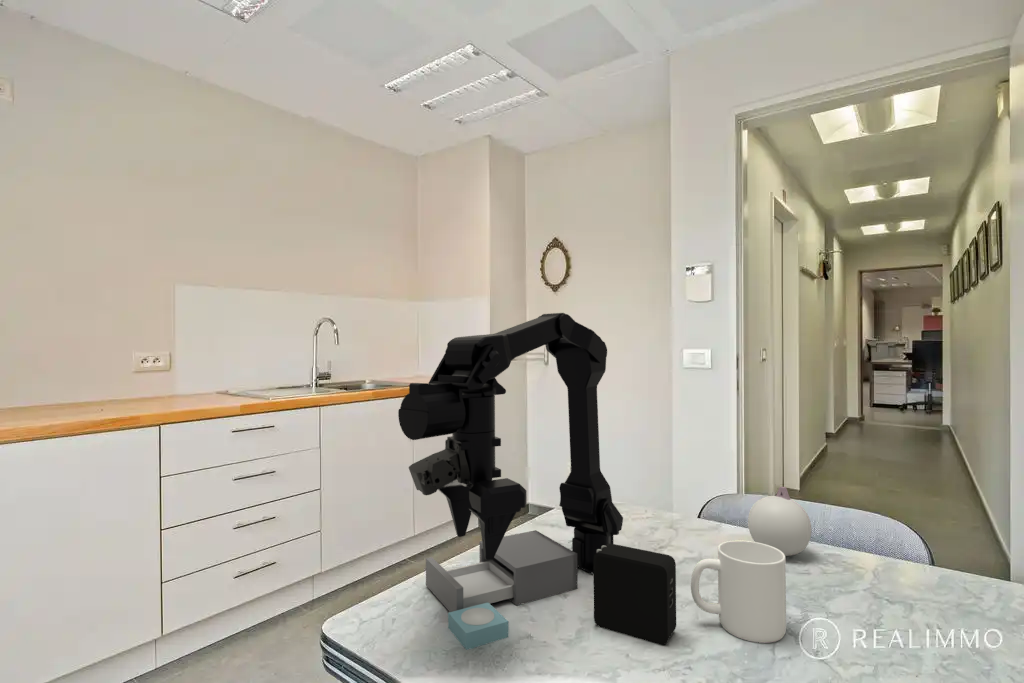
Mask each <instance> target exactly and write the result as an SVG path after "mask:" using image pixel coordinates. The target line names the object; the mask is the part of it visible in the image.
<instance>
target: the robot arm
mask: <svg viewBox="0 0 1024 683" xmlns="http://www.w3.org/2000/svg"><path fill="white" fill-rule="evenodd" d="M543 346H545V350H546V351H547V352H548V353H549V354H550V355H551V356H552V357H553V358H555V362H556V363H555V364H556V367H557V374H559V376H560V378H561V380H562V381H563V382H564V384H565V386H566V388H567V405H568V407H567V408H568V427H569V428H568V429H569V430H568V432H569V456H570V473H569V474H568V476H567V477H566V479H565V481H564V482H561V483H560V484H559V487H558V488H559V493H560V494H559V495H560V498H559V500H560V501H559V507H561V511H562V514H563V516H564V521H565V525H566V527H571V528H573V537H572V540H571V549H572V550H571V551H573V552H575V553H577V568H578V567H579V568H580V569H581V570H583V571H584V572H585V571H586V572H587V573H589V574H594V570H593V558H594V555H595V554H596V553H597V550H598V549H600V550H601V546H602V545H604V546H606V545H607V544H610V543H611V544H614V536H618V535H620V531H622V528H623V522H624V517H623V515H622V514H621V512H620V511H619V510H618V508H617V506H616V505H615V504H614V502H613V499H612V498H613V497H612V490H611V486H610V484H609V482H608V481H607V480H606V477H605V476H604V474H603V473H602V471H601V460H600V456H601V455H600V434H599V433H600V432H599V408H598V407H599V406H598V404H599V403H598V385H599V383H600V382H601V380H602V378H603V376H604V374H605V372H606V371H607V370H606V369H607V358H608V357H607V356H608V347H607V344H606V342H605V341H604V340H603V339H602V338H601V337H600V336H599V335H598V334H597V333H596V332H595V331H594V330H592V329H591V328H589V327H587V326H584V325H583V324H581V323H579V322H577V321H575V319H573V317H571V316H570V315H569V314H567V313H564V312H553V313H551V312H550V313H543V314H541V315H539V316H538V317H536V318H533V319H531V320H530V319H529V320H527V321H525V322H521V323H520V324H516V325H514V326H511V327H507V328H506V329H503V330H501V331H497V332H495V333H489V334H478V335H477V334H476V335H475V334H474V335H468V336H466V335H465V336H458V337H454V338H452V339H450V340H449V341H448V342H447V347H446V348H445V351H444V352H445V353H444V355H443V356H442V358H441V359H440V362H439V363H438V366H437V367H436V369H435V370H434V372H433V375H432V376H431V378H430V380H429V382H427V383H425V382H412V383H409V385H408V387H409V388H408V393H407V394H406V395H405V396H404V397H403V399H402V400H401V404H400V408H398V412H397V413H398V415H397V416H398V417H397V418H398V424H399V426H400V429H401V431H402V432H403V434H404V436H405V437H406V438H407V439H409V440H412V441H417V440H422V439H430V438H435V437H440V436H447V439H445V442H444V443H445V446H444V449H442V450H440V451H437V452H434V453H433V454H432V453H431V454H430V455H428V456H425V457H424V458H421V459H420V460H418V461H416V462H414V463H411V465H409V466H408V469H409V472H410V475H411V478H412V481H413V483H414V487H415V489H416V490H417V491H420V492H421V493H422V495H424V496H430V495H432V494H435V493H436V492H437V491H439V492H440V493H441V494H442V495H443V496H444V497H445V498H446V501H447V504H448V508H449V511H450V514H451V519H452V522H453V526H454V530H455V533H456V536H457V537H458V538H461V537H465V536H466V534H467V531H468V528H469V524H470V519H471V516H472V514H473V515H474V516H475V517H476V518H477V519H478V520H479V524H480V525H479V526H480V533H481V541H482V544H483V550H484V556H485V559H486V560H489V559H493V558H494V556H495V554H496V552H497V550H498V548H499V546H500V543H501V541H502V539H503V537H505V535H506V533H507V530H508V529H509V527H510V525H511V523H512V521H513V519H514V518H515V516H516V514H517V513H520V512H521V511H522V510H521V509H525V508H526V507H527V490H526V488H524V486H522V485H521V484H520V483H518V482H516V481H515V480H512V479H510V478H507V477H506V478H501V477H502V469H501V468H499V467H498V466H497V467H496V447H501V446H502V438H501V437H498V436H496V396H497V395H498V396H499V395H505V394H506V393H507V390H506V388H505V387H504V386H503V385H502V384H501V383H499V382H498V380H497V379H496V378H497V377H498V376H499V375H501V374H502V373H503V372H504V371H506V370H507V369H509V367H510V365H511V363H512V361H513V360H514V359H516V358H518V357H520V356H522V355H525V354H527V353H530V352H532V351H534V350H537V349H539V348H540V347H543ZM448 435H452V436H448ZM498 478H500V479H498Z"/></svg>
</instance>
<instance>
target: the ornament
mask: <svg viewBox="0 0 1024 683" xmlns="http://www.w3.org/2000/svg"><path fill="white" fill-rule="evenodd" d="M747 525H748V530H749V534H750V536H751V538H752V540H753V542H758V543H762V544H766V545H769V546H772V547H774V548H777V549H778V550H780V551H782V552H783V553H784V555H785V557H791V556H796V555H798V554H800V553H801V552H803V551H804V550H805V549H806V548H807V546H808V545H809V543H810V540H811V537H812V523H811V519H810V517H809V515H808V512H807V511H806V510H805V509H804V507H803V506H802V505H801V504H800V503H798V502H797V501H795V500H793V499H791V497H790V495H789V492H788V489H787V487H786V486H779V487H778V490H777V493H776V495H769V496H764V497H761V498H760V499H758V500H756V501H755V502H754V503H753V505H752V506H751V508H750V510H749V513H748V518H747Z"/></svg>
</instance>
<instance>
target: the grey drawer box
mask: <svg viewBox="0 0 1024 683" xmlns="http://www.w3.org/2000/svg"><path fill="white" fill-rule="evenodd" d="M489 560H493V561H494V562H496V563H497V564H498V565H500V566H501V567H502V568H504V569H505V570H506V571H507V572H509V573H510V574H511V575H513V576H514V597H513V598H509V599H508V600H509V601H511V602H512V603H513V604H514V605H515V606H520V605H523V604H527V603H531V602H534V601H537V600H541V599H544V598H548V597H552V596H555V595H559V594H562V593H566V592H569V591H574V590H577V589H578V586H579V585H578V583H579V582H578V566H577V553H575V552H573V551H572V550H571V549H570V548H568V547H566V546H564V545H562V544H561V543H559V542H557V541H556V540H554V539H552V538H550V537H549V536H546V535H545V534H543V533H541V532H540V531H539V530H529V531H526V532H521V533H515V534H511V535H506V536H505V535H504V537H503V539H502V541H501V543H500V546H499V548H498V550H497V552H496V554H495V556H494V558H493V559H489ZM489 560H486V559H485V556H484V550H483V544H482V540H480V541H479V563H480V562H485V561H489Z"/></svg>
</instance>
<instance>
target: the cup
mask: <svg viewBox="0 0 1024 683" xmlns="http://www.w3.org/2000/svg"><path fill="white" fill-rule="evenodd" d="M786 566H787V565H786V556H785V555H784V553H783V552H782V551H780V550H778V549H777V548H774V547H772V546H769V545H766V544H762V543H758V542H755V541H751V540H740V539H739V540H728V541H723V542H721V543H720V544H718V546H717V558H704V559H701V560H699V561H698V562H697V563H695V566H694V567H693V570H692V573H691V578H690V590H691V592H690V593H691V597H692V600H693V602H694V603H695V604H696V606H697V607H698V608H699V609H700V610H702V611H703V612H705V613H709V614H713V615H718V620H719V622H720V626H722V627H723V629H724V630H725V631H726V632H728V634H731V635H732V636H734V637H736V638H739V639H742V640H745V641H747V642H751V643H758V642H759V644H769V643H775V642H779V641H780V640H782V638H783V637H785V634H786V630H787V580H786V579H787V578H786V577H787V576H786ZM706 569H711V570H716V571H717V591H718V593H717V594H718V596H717V597H718V598H717V599H718V601H717V602H718V603H717V602H715V603H710V602H707V601H705V600H704V599H703V598H702V596H701V593H700V581H701V580H700V579H701V576H702V573H703V571H704V570H706Z"/></svg>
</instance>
